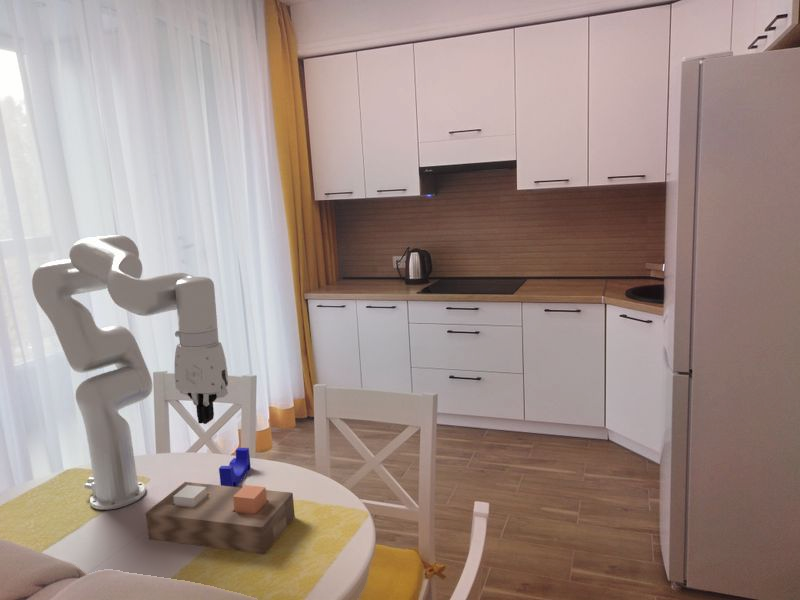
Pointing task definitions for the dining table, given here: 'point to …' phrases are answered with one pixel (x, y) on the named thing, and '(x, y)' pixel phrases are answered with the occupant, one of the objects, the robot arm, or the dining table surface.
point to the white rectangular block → (190, 496)
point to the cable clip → (235, 468)
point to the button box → (221, 520)
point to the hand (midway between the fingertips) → (206, 421)
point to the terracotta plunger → (250, 499)
